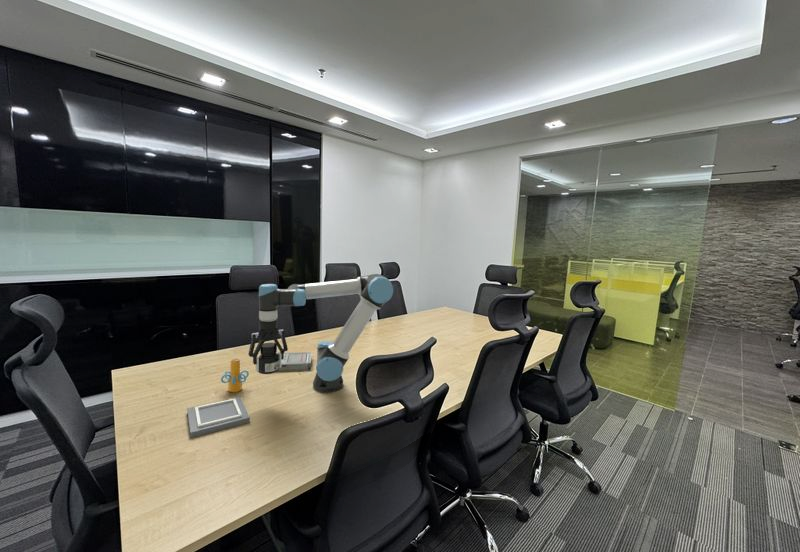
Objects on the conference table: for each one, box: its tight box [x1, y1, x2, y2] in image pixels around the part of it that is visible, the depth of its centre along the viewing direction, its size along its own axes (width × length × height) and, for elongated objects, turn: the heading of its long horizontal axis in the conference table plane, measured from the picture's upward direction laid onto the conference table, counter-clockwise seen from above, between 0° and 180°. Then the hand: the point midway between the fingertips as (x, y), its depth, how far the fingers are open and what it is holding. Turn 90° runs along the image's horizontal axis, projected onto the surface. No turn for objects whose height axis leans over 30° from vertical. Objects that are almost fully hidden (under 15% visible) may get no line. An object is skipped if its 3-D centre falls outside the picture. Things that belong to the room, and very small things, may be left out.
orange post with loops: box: [220, 357, 249, 393], centre depth 156 cm, size 12×10×15 cm
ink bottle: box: [258, 342, 279, 375], centre depth 144 cm, size 10×9×12 cm
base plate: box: [186, 396, 251, 438], centre depth 132 cm, size 20×20×3 cm
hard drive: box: [276, 351, 312, 372], centre depth 190 cm, size 18×27×4 cm
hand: (268, 368), depth 145 cm, fingers closed on ink bottle, 9 cm apart
